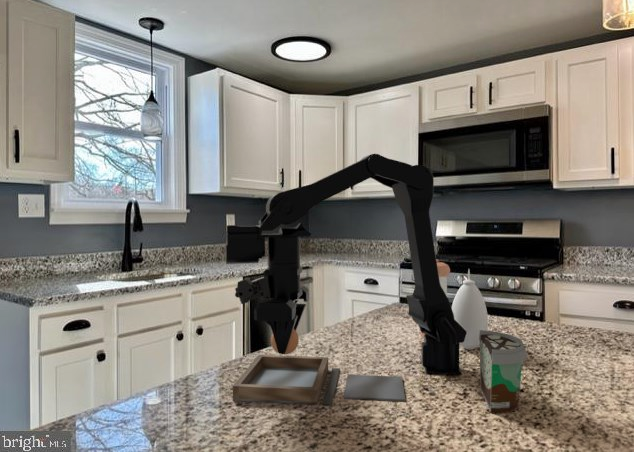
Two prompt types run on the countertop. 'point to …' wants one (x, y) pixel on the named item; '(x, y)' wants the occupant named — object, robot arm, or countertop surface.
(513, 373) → the food container
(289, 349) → the ball
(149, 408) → the countertop surface
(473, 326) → the sauce bottle
